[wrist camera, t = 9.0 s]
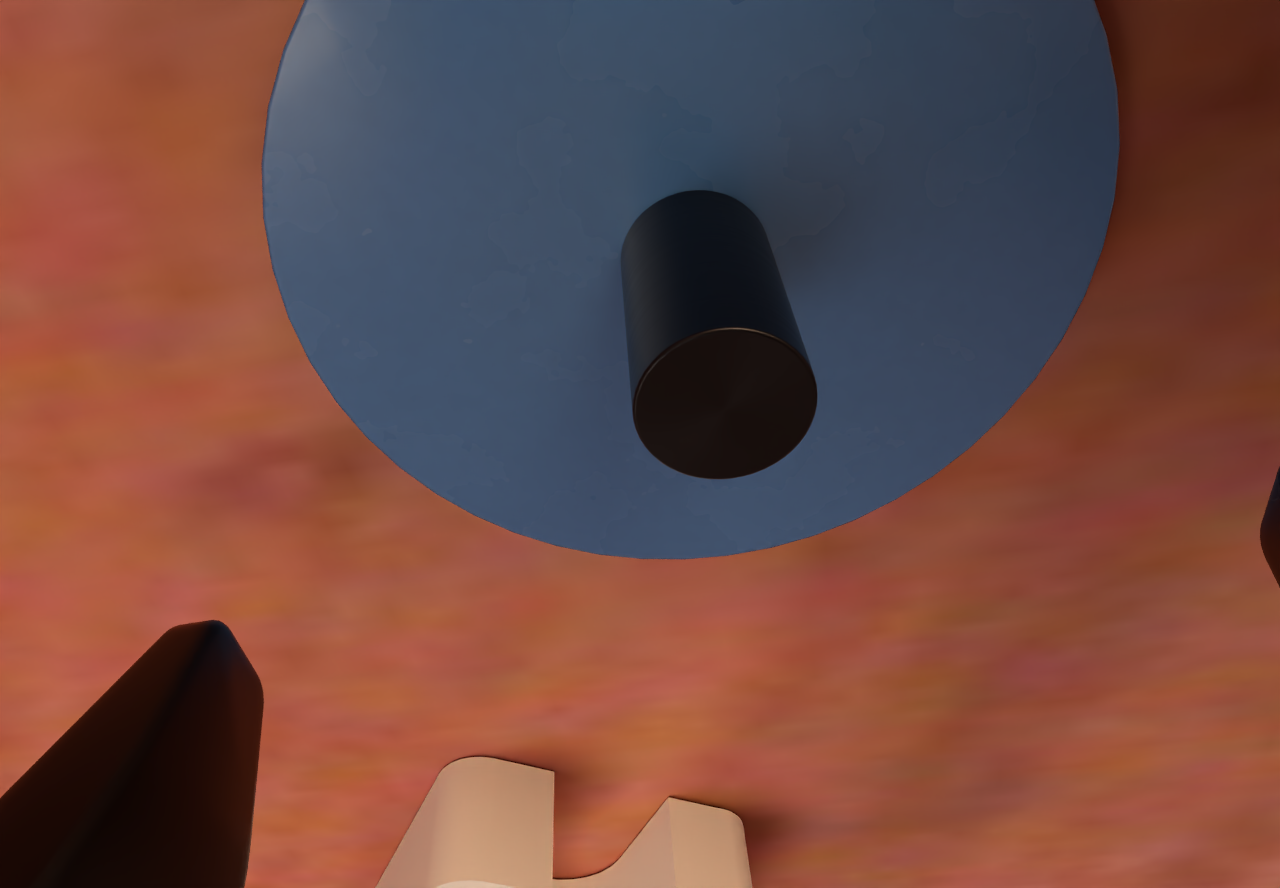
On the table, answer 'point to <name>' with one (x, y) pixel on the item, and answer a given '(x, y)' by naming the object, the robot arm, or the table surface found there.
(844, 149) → the lid
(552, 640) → the table surface
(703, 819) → the grey bracket part
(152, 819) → the robot arm
